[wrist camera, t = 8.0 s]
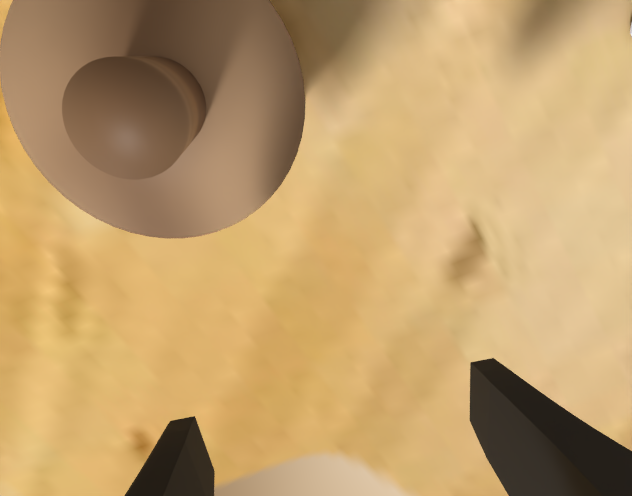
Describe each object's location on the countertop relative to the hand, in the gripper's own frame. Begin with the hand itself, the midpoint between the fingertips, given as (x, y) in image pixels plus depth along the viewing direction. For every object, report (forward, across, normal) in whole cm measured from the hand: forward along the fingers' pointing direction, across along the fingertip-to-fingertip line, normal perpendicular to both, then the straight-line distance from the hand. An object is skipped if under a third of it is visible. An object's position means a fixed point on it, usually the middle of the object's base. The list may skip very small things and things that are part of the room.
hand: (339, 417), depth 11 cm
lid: (+6, +4, -8) cm, 11 cm away
